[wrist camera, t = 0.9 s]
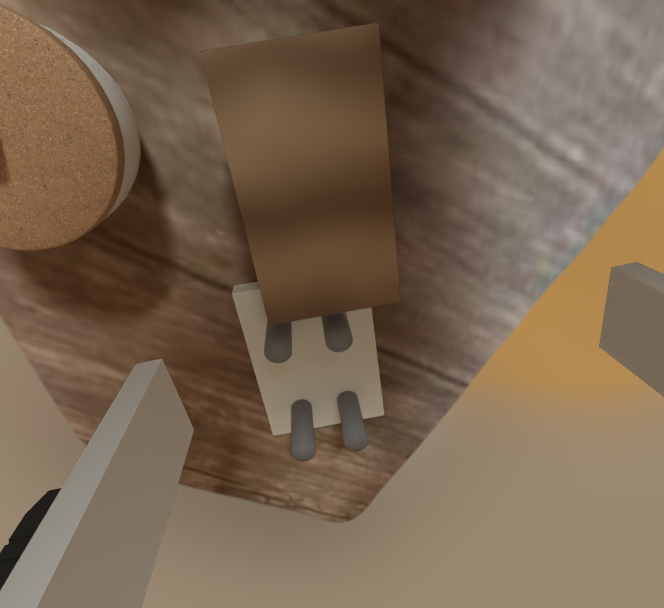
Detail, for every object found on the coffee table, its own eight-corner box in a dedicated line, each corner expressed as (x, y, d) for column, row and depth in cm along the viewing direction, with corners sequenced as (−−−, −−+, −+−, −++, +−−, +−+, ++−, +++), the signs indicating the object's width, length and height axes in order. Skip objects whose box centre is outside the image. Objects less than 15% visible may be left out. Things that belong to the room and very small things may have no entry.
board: (210, 58, 20) (200, 51, 18) (368, 32, 20) (378, 22, 18) (270, 307, 26) (268, 325, 24) (391, 285, 26) (400, 302, 24)
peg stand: (234, 285, 30) (221, 326, 25) (363, 262, 31) (381, 297, 25) (273, 424, 37) (270, 483, 31) (380, 404, 37) (398, 458, 31)
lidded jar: (18, -20, 22) (-156, -105, 13) (195, 115, 25) (147, 115, 17) (-50, 147, 25) (-225, 165, 16) (117, 246, 28) (44, 303, 20)
